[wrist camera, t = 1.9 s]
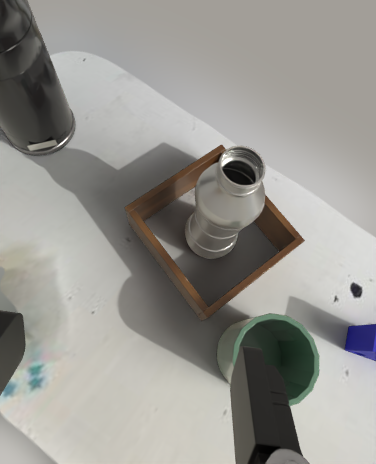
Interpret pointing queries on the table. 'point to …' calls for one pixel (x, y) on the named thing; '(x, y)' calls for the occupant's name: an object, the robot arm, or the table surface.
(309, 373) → the cup
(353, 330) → the blue cradle bracket
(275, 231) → the open box
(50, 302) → the table surface
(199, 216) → the silver metal bottle
